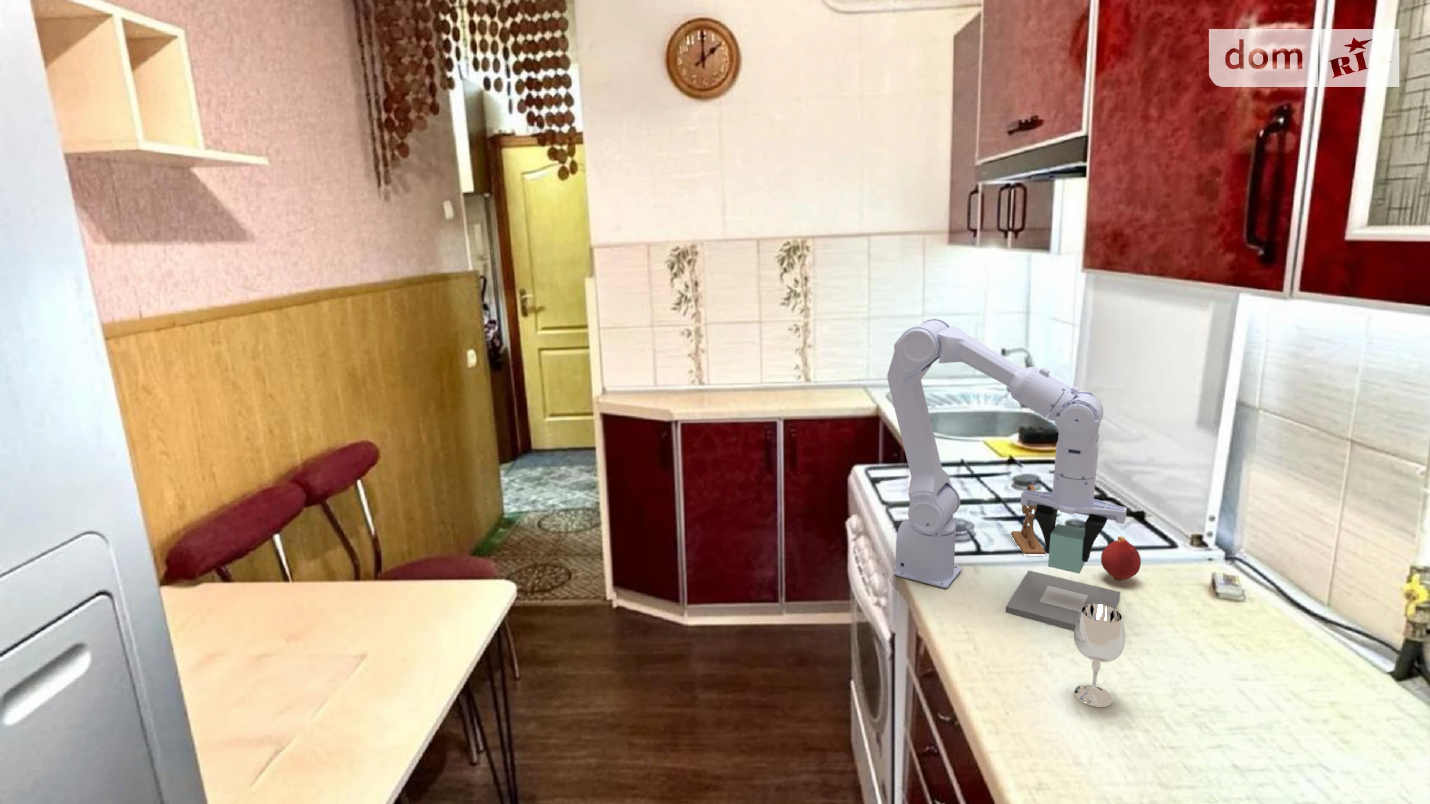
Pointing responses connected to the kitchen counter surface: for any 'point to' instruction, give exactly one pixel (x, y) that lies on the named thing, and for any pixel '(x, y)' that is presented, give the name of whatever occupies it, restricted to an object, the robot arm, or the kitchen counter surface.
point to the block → (1067, 548)
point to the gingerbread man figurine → (1028, 531)
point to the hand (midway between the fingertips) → (1067, 555)
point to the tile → (1056, 599)
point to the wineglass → (1098, 646)
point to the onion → (1121, 559)
